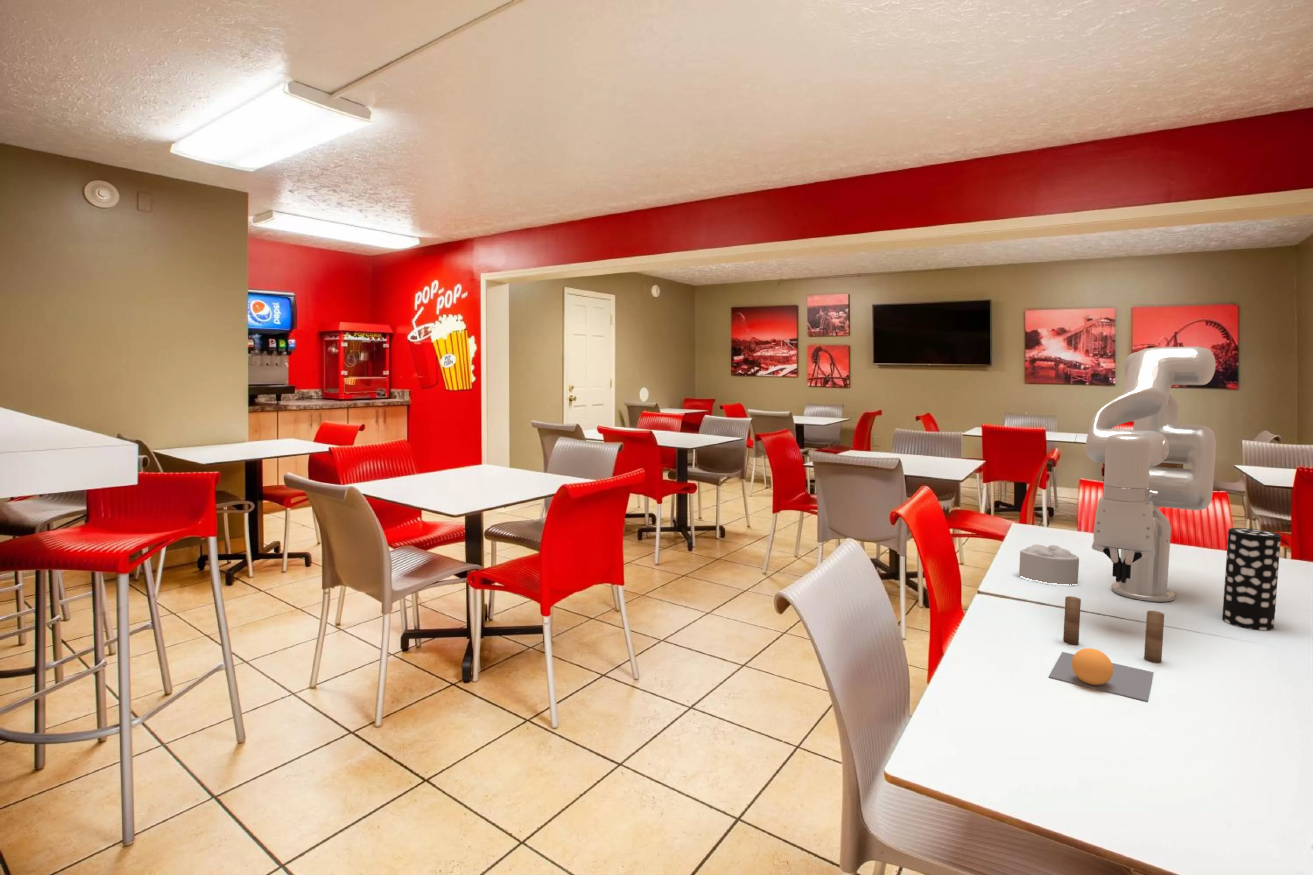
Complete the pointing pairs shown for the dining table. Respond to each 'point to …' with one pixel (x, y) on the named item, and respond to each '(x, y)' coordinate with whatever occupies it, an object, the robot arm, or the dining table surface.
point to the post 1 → (1072, 620)
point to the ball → (1092, 666)
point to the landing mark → (1121, 682)
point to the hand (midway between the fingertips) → (1121, 580)
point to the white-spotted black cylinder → (1251, 578)
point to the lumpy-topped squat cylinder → (1049, 564)
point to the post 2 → (1154, 636)
